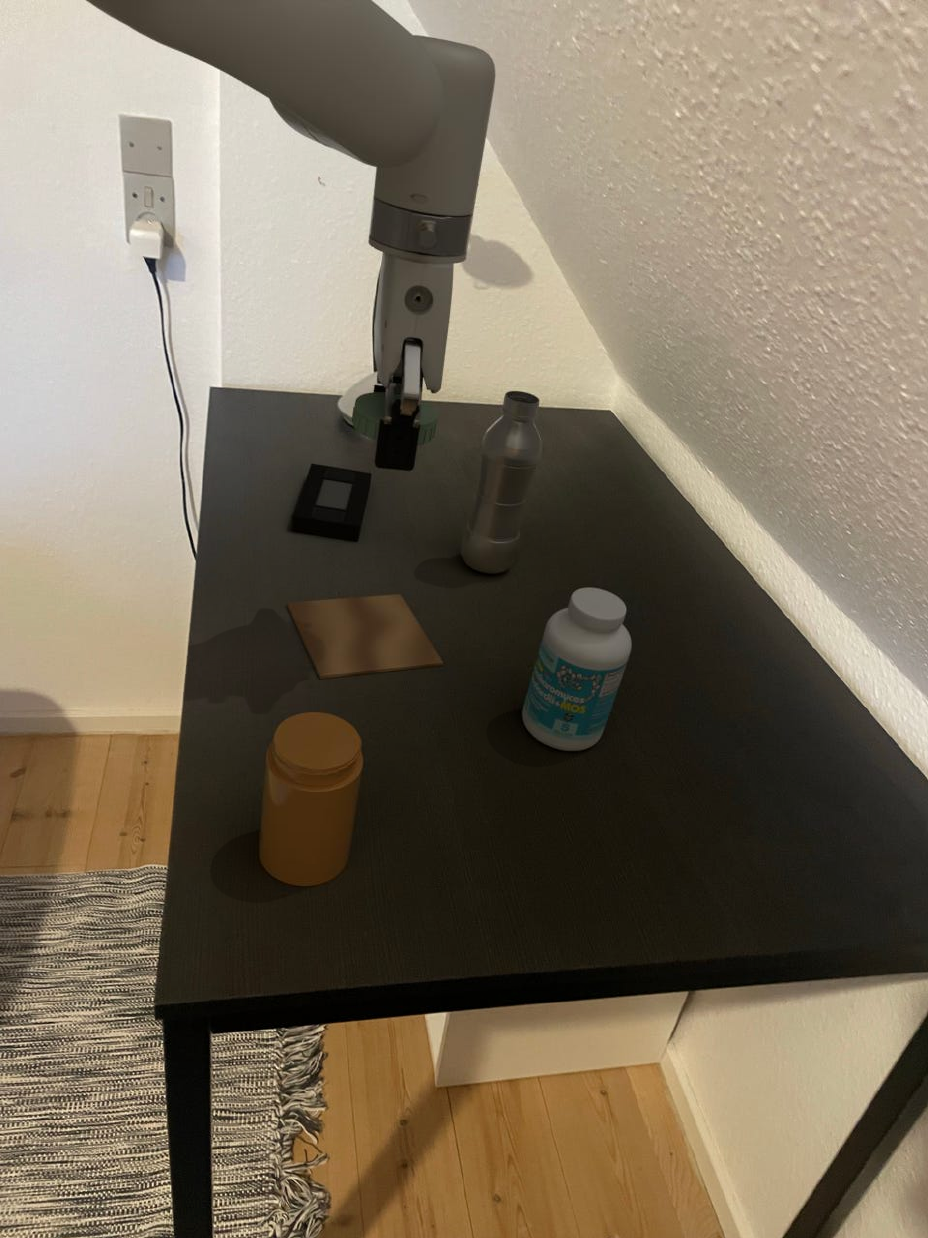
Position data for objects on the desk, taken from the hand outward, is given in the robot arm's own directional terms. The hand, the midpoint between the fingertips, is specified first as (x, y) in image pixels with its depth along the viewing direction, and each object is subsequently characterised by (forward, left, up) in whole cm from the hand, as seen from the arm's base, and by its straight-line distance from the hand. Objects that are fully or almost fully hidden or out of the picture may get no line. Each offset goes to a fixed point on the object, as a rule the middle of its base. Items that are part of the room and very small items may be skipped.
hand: (390, 447), depth 80 cm
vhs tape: (0, +26, -20) cm, 33 cm away
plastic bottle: (+16, +14, -20) cm, 29 cm away
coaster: (0, 0, -20) cm, 20 cm away
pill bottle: (+16, -14, -20) cm, 29 cm away
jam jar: (-8, -27, -20) cm, 34 cm away
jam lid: (0, 0, +3) cm, 3 cm away
